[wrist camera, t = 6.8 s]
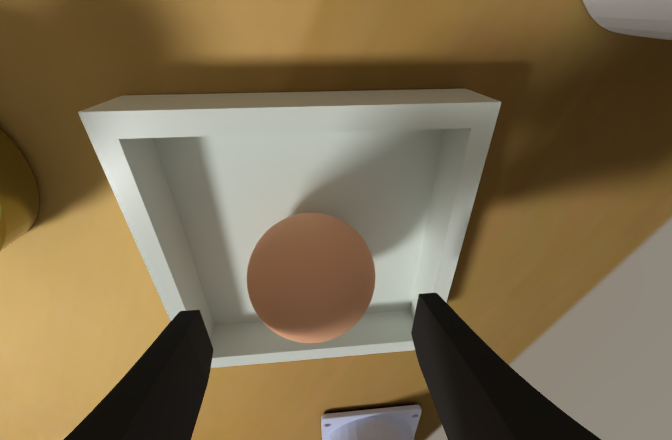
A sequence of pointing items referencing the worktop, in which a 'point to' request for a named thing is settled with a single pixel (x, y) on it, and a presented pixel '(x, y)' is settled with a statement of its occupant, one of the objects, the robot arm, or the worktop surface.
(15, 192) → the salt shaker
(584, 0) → the coffee cup
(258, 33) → the worktop surface
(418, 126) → the tray
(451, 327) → the robot arm
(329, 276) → the ball
